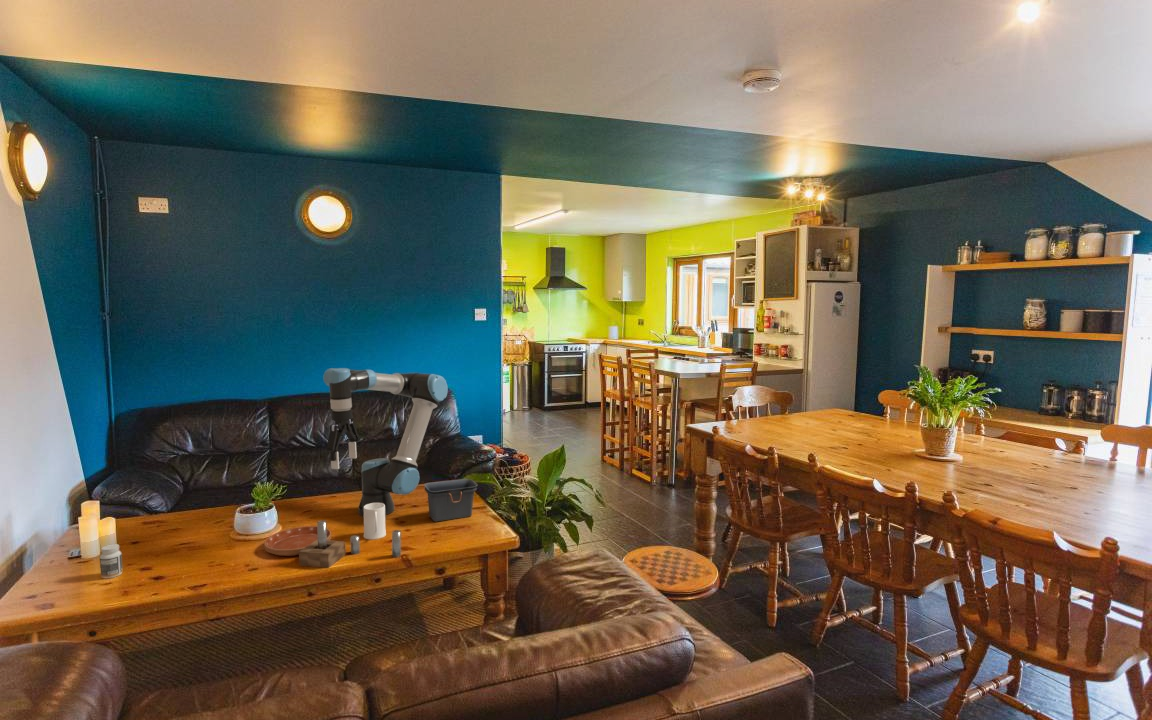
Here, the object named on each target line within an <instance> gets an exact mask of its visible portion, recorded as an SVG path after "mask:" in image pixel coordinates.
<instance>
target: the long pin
mask: <svg viewBox="0 0 1152 720" xmlns="http://www.w3.org/2000/svg"><path fill="white" fill-rule="evenodd" d="M316 526H317V532H318V549H324V550H325V549H326V548H327V529H328V528H327V520H318V521H317V523H316Z"/></svg>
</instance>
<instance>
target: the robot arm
mask: <svg viewBox="0 0 1152 720" xmlns="http://www.w3.org/2000/svg"><path fill="white" fill-rule="evenodd" d="M323 373H324V374H323V378H322V379H323V382H324V384H325V385H326V386H328V387H329V397H330V398H329V399H330V401H329V403H330V409H331V411H330V416H331V417H330V418H331V420H332V421H333V422H334V424H333V425H332V424H331V425H329V435H328V440H327V443H326V445H327V446H326V449H325V451H326V452H327V453H330V468H331V470H339V469H340V461H339V459H340V458H339V451H338V449H339V445H340V443H341V439H342V437H343V436H344V434H345V436H346V437H347V439H348V440H349V442H348V453H349V454H348V457H349V459H357V456H358V455H357V454H358V452H357V442H360V440H359V438H360V435H359V432H358V430H357V426H356V424H355V418H354V417H353V409H352V407H353V402H352V392H357V391H362V390H367V391H368V390H369V391H380V392H390V394H393V395H398V396H403V397H408V398H411V401H412V403H413V406H412V408H411V412H410V415H409V416H408V417H409V418H408V421H407V423H406V426H405V429H404V432H403V436H402V437H401V441H400V443H399V447H398V449H397V452H396V455H395V456H394V457H392V458H390V459H389V458H388V457H387V458H386V457H380V458H373V459H368V460H366V461H364V462H363V463H362V465H361V470H360V471H361V474H360V475H361V498H360V501H359V505H358V509H357V510H358V512H357V513H358V515H359V516H361V517H364V506H365V505H367V504H370V503H383V504H385V516H387V515H390V514H392V513H393V512H395V503H394V500H393V496H392V495H391V494H395V495H403V496H405V495H409V494H411V493H412V492H414V490H416V488H417V487H418V485H419V483H420V477H421V476H420V473H419V470H418V466H419V465H418V463H417V459H418V456H419V453H420V449H421V446H422V444H423V440H424V437H425V434H426V431H427V428H428V425H429V422H430V419H431V416H432V413H433V410H434V409H436V408H438V406H439V403H440V402H443V401H444V400H445V399H446V398H447V396H448V391H449V389H448V388H449V387H448V384H447V380H446V379H445V378H444V376H441V375H439V374H435V373H422V372H421V373H419V372H407V373H406V372H405V373H404V372H403V373H401V372H395V373H392V374H389V373H380V372H376V371H374V370H372V369H363V370H359V369H357V370H356V369H350V368H347V367H334V368H333V367H331V368H327V369H326V370H325V371H324V372H323Z"/></svg>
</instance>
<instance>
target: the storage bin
mask: <svg viewBox="0 0 1152 720" xmlns="http://www.w3.org/2000/svg"><path fill="white" fill-rule="evenodd" d="M423 486H424V491H425V492H426V493H427V503H428V514H429V517H430V518H431V520H432V521H433V522H436V523H437V522H442V521H449V520H455V519H464V518H469V517H471V516H472V514H473V506H474V505H473V504H474V495H475V492H476V491H477V489H478V488H477V487H478V483H477V482H475V481H474V480H473V479H471V478H460V479H452V480H441V481H434V482H433V481H432V482H426V483H424V484H423Z"/></svg>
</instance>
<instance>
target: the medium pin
mask: <svg viewBox="0 0 1152 720" xmlns="http://www.w3.org/2000/svg"><path fill="white" fill-rule="evenodd" d="M401 540H402V531H401V530H400V529H399V530H397V529H395V530H393V531H392V532H391V557H393V558H399V557H401V554H402V553H401V552H402V547H401V546H402V541H401Z"/></svg>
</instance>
